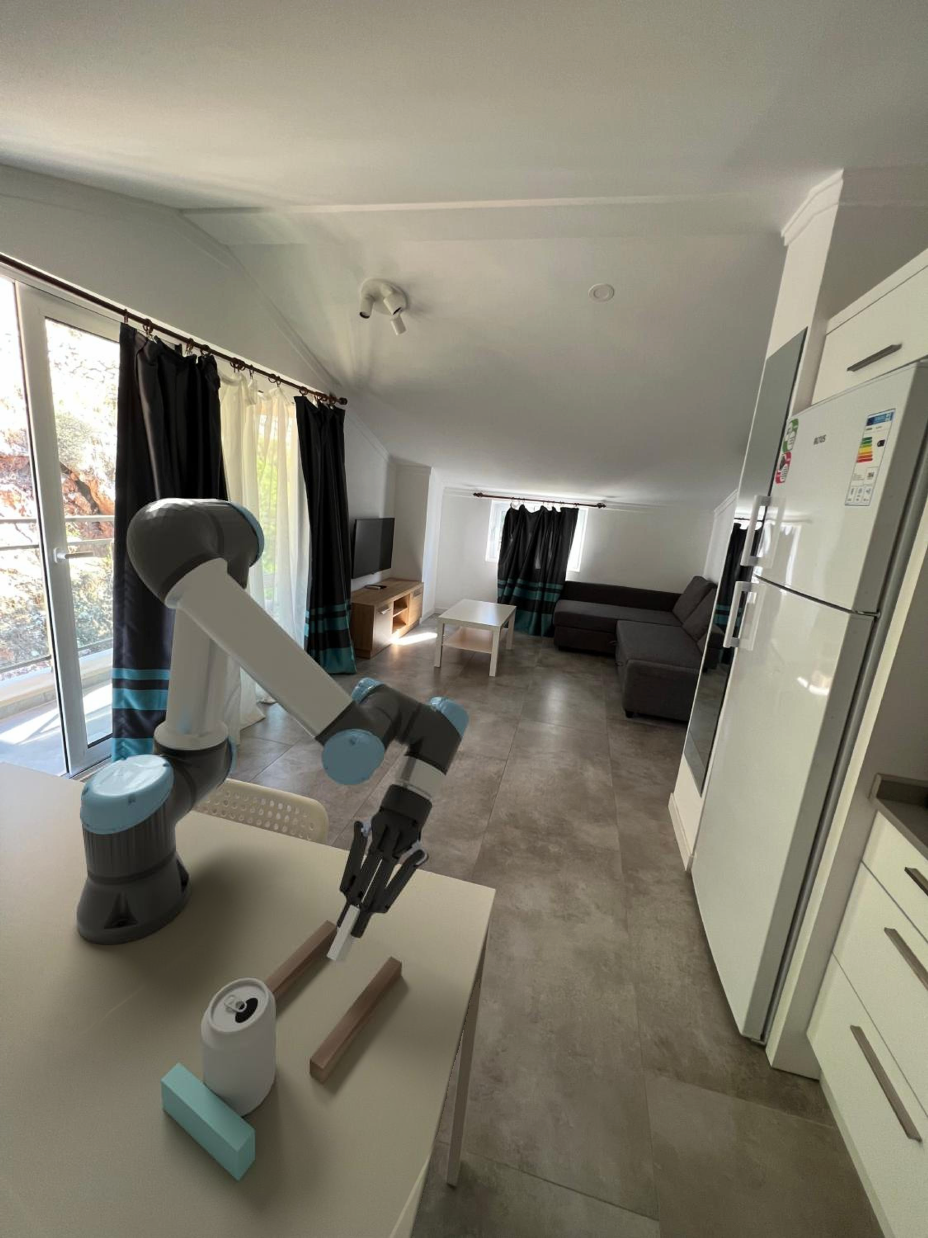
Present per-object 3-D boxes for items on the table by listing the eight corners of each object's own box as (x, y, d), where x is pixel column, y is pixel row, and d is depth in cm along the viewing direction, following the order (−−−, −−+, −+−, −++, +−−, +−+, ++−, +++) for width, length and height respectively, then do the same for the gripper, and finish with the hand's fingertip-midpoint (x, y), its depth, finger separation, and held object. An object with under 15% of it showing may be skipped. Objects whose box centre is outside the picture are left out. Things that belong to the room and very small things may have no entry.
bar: (162, 1108, 54) (160, 1080, 53) (180, 1090, 56) (178, 1062, 55) (238, 1182, 49) (237, 1152, 48) (255, 1159, 50) (254, 1130, 50)
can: (245, 1138, 52) (244, 1049, 50) (187, 1110, 54) (183, 1023, 52) (289, 1064, 59) (289, 983, 57) (236, 1042, 61) (234, 962, 59)
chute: (239, 1021, 64) (239, 1006, 63) (327, 932, 78) (327, 920, 77) (322, 1085, 58) (322, 1069, 57) (401, 976, 72) (402, 963, 71)
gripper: (455, 813, 78) (385, 984, 67) (388, 786, 84) (314, 938, 73) (440, 799, 72) (360, 983, 61) (369, 771, 78) (286, 934, 67)
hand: (335, 959), depth 67 cm, fingers closed
